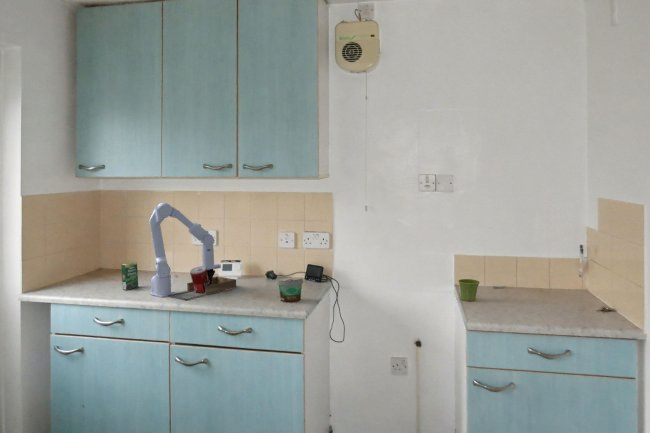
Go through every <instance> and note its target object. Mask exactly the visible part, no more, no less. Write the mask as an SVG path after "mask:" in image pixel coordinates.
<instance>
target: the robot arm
mask: <svg viewBox="0 0 650 433" xmlns="http://www.w3.org/2000/svg"><path fill="white" fill-rule="evenodd" d="M168 217H170V218H174V219H177V220H178V221H179V222H180V223H182V225H184V226H186V227H187V228H188V232H189V234H190V235H192V236H193V237H195V239H197V240H198V241H200V243H201V260H202V261H201V262H202V266H204V267H206V269H207V273H208V277H209V281H210V285H211V282H212V278H213V277H214V275H215V274H216V269H221V266H222V265H221V264H220V263H215V254H214V253H215V250H214V244H215V238H214V236H213V235H211V234H210V232H209V231H208V230H205V229H204V228H203V227H202V224H201V223H198V222H192V221H191V220H190V219H189V218H187V216H185V215H184V214H183V213H182V212H181V211H180V210H178V209H177V208H175V207H173V206H172V205H170V204H169V203H167V202H160V203H158V205H157V204H156V206H155V207H154V210H153V212H152V214H151V216H150V218H149V221H148V222H149V228H150V229H149V230H150V233H151V239H152V245H153V251H154V257H155V266H154V269H155V272H156V273H155V275H153V277H151V280H150V293H149V295H151V296H155V297H159V298H164V297H168V295H172V294H176V292H175V291H172V279H171V278H172V276H171V275H172V274H171V271H172V270H171V266H170V265H169V264H168V259H167V256H166V250H165V245H164V239H163V233H162V226H161V223H163V221H165V219H167V218H168ZM202 269H204V268H200V269H199V268H198V269H196V271H199V270H202Z"/></svg>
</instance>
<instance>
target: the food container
mask: <svg viewBox="0 0 650 433" xmlns="http://www.w3.org/2000/svg"><path fill="white" fill-rule="evenodd" d="M303 284H304V279H303V277H300V278H299V279H290V278H289V279H287V280H280V279H277V285H278V288H279V289H278V290H279V299H280V302H283V303H297V302H300V301H301V297H302V286H303Z"/></svg>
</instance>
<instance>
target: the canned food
mask: <svg viewBox="0 0 650 433" xmlns="http://www.w3.org/2000/svg"><path fill="white" fill-rule="evenodd" d="M198 268H199V269H200V268H204V269H202V270H199V271H196V269H198ZM189 274H190V277H191V282H193V286H194V289H195V290H194V292H195V293H196V294H205V287H206V286H210V281H209V277H208V273H207V269H206V267H204V266H201V265H200V266H196V267H192V268H191V269H190V270H189Z"/></svg>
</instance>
